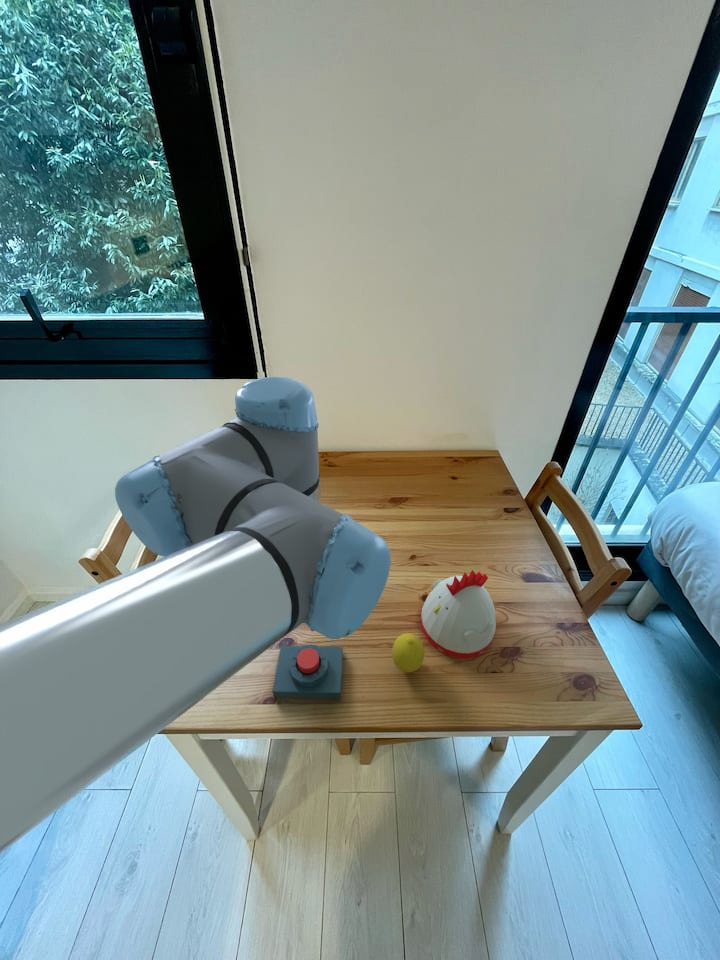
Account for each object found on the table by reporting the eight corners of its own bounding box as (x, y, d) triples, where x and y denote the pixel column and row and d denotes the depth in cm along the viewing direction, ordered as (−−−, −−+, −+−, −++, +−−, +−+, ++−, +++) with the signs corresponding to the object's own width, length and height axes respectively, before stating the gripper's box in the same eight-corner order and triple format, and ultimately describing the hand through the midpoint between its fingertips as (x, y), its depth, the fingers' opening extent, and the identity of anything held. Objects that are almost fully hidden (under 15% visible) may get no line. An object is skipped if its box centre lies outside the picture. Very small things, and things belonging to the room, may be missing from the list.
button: (296, 674, 67) (295, 668, 66) (299, 653, 70) (298, 647, 69) (318, 674, 67) (317, 669, 66) (320, 653, 70) (319, 648, 69)
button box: (274, 697, 67) (271, 686, 65) (282, 652, 74) (279, 640, 71) (340, 699, 67) (340, 687, 65) (342, 653, 74) (342, 641, 71)
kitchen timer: (408, 606, 82) (415, 555, 73) (467, 586, 86) (480, 535, 77) (443, 669, 72) (457, 618, 63) (508, 643, 76) (529, 592, 67)
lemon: (428, 669, 72) (433, 644, 67) (404, 686, 69) (407, 662, 64) (408, 644, 75) (412, 619, 70) (384, 660, 73) (386, 635, 68)
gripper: (370, 492, 50) (366, 606, 64) (219, 488, 51) (248, 602, 65) (369, 535, 44) (365, 650, 58) (199, 530, 45) (235, 646, 59)
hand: (303, 625), depth 62 cm, fingers open, 6 cm apart
